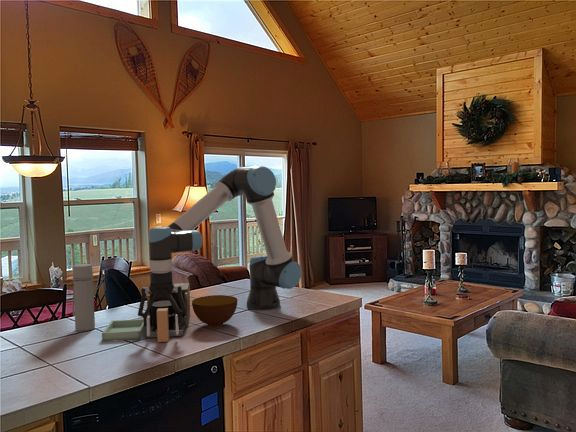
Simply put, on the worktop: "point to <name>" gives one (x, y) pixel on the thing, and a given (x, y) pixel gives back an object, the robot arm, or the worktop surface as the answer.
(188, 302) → the bay
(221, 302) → the bowl
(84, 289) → the water bottle
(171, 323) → the mug
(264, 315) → the worktop surface
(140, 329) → the tray
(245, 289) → the worktop surface
